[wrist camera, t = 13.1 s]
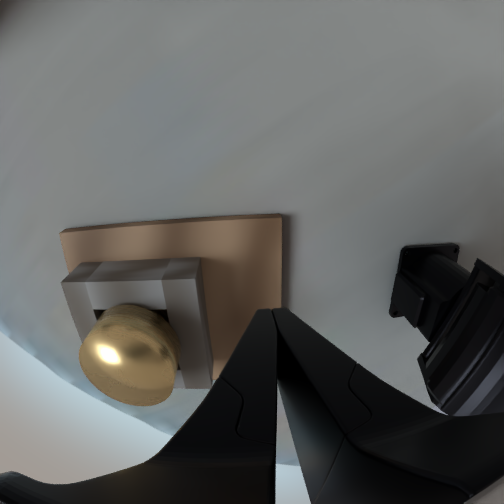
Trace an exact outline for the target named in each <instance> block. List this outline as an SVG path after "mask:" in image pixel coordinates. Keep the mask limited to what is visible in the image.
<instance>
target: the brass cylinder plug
mask: <svg viewBox="0 0 504 504" xmlns="http://www.w3.org/2000/svg"><path fill="white" fill-rule="evenodd" d="M180 354H181V346H180V341H179V339H178V336H177V334H176V333H175V331H174V330H173V328H172V327H171V326H170V323H169V318H168V313H167V309H154V310H148V309H146V308H143V307H140V306H135V305H117V306H113V307H111V308H109V309H107V310H106V311H104V312H103V313H102V314H101V316H100V317H99V319H98V320H97V322H96V323H95V325H94V326H93V328H92V329H91V331H90V332H89V334H88V335H87V337H86V339H85V340H84V342H83V343H82V345H81V347H80V350H79V361H80V365H81V368H82V370H83V372H84V374H85V375H86V377H87V378H88V379H89V381H90V382H91V383H92V384H93V385H94V386H95V387H96V388H97V389H99V390H100V391H101V392H103V393H104V394H106V395H107V396H109V397H111V398H113V399H115V400H117V401H120V402H122V403H126V404H129V405H135V406H151V405H156V404H159V403H161V402H163V401H165V400H166V399H167V398H168V397H169V396H170V394H171V393H172V390H173V386H174V382H175V377H176V372H177V368H178V363H179V359H180Z"/></svg>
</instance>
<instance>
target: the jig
mask: <svg viewBox="0 0 504 504" xmlns="http://www.w3.org/2000/svg"><path fill="white" fill-rule="evenodd" d="M59 234H60V239H61V243H62V248H63V252H64V256H65V260H66V264H67V268H68V271H69V275H68V276H67V277H66V278H65V279H64V280H63V281H62V282H61V285H62V288H63V291H64V294H65V297H66V300H67V303H68V306H69V309H70V312H71V315H72V317H73V320H74V323H75V326H76V328H77V331H78V333H79V336H80V338H81V341H82V343H83V342H84V340H85V339H86V337H87V335H88V334H89V332H90V331H91V329H92V328H93V326H94V325H95V323H96V322H97V320H98V319H99V317H100V316H101V314H102V313H103V312H104V311H106V310H107V309H109V308H111V307H113V306H117V305H135V306H140V307H143V308H146V309H148V310H154V309H167V313H168V318H169V323H170V326H171V327H172V328H173V330H174V331H175V333H176V334H177V336H178V339H179V341H180V346H181V354H180V359H179V363H178V368H177V372H176V377H175V382H174V386H173V388H181V389H211V388H212V381H213V380H217V378H218V377H219V375H220V373H221V371H222V370H223V368H224V366H225V364H226V363H227V361H228V359H229V358H230V356H231V354H232V352H233V351H234V349H235V347H236V345H237V344H238V342H239V340H240V338H241V337H242V335H243V333H244V331H245V330H246V328H247V326H248V324H249V323H250V321H251V319H252V317H253V315H254V314H255V312H256V310H257V309H267V308H269V309H271V310H272V309H273V308H281V280H282V217H281V215H280V214H261V215H239V216H220V217H202V218H186V219H172V220H158V221H145V222H133V223H121V224H110V225H99V226H89V227H79V228H70V229H65V230H63V231H62V232H60V233H59Z"/></svg>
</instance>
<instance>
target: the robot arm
mask: <svg viewBox="0 0 504 504" xmlns="http://www.w3.org/2000/svg"><path fill="white" fill-rule="evenodd" d="M454 249H455V250H454ZM407 251H408V253H407V254H406V252H407ZM405 254H406V255H405ZM458 254H459V246H458V245H456V244H437V245H419V246H405V247H403V248H402V250H401V252H400V258H399V264H398V270H397V274H396V277H395V282H394V287H393V292H392V297H391V305H390V309H389V314H390V316H391V317H393V318H396V317H402V316H405V318H406V319H407V320H408V321H409V322H410V324H411V325H412V326H413V327H414V328H416V327H417V328H418V329H419V330H420V332H421V333H422V334H423V335H424V337H425V338H426V339H427V340H428V342H430V343H429V345H428V346H427V347H426V349H425V350H424V352H423V353H421V354H420V355H419V357H418V358H417V360H418V363H419V366H420V369H421V372H422V375H423V378H424V382H425V385H426V388H427V391H428V394H429V396H430V399H431V401H432V403H434V404H435V405H436V406H437V407H438V408H439V409H440V410H441V411H443V412H445V413H446V414H448V415H445V414H442V413H439V412H437V411H435V410H433V409H431V408H429V407H427V406H426V405H424V404H422V403H420V402H418V401H417V400H415V399H413V398H411V397H409V396H408V395H406V394H404V393H402V392H401V391H399V390H397V389H395V388H394V387H392V386H391V385H389V384H387V383H386V382H384V381H382V380H381V379H379V378H378V377H377V376H375V375H374V374H372V373H371V372H369V371H368V370H367V369H365V368H364V367H363V366H361V365H360V364H358V363H357V362H356V361H354V360H353V359H352V358H351V357H349V356H348V355H347V354H345V353H344V352H343V351H341V350H340V349H339V348H337V347H336V346H335V345H333V344H332V343H331V342H330V341H328V340H327V339H326V338H324V337H323V336H322V335H320V334H319V333H318V332H317V331H315V330H314V329H313V328H311V327H310V326H309V325H308V324H306V323H305V322H304V321H302V320H301V319H300V318H299V317H297V316H296V315H295V314H293V313H292V312H291V311H290V310H288V309H287V308H285V307H281V308H273V309H272V310H271V309H269V308H267V309H257V310H256V312H255V314H254V315H253V317H252V319H251V321H250V323H249V324H248V326H247V328H246V330H245V331H244V333H243V335H242V337H241V338H240V340H239V342H238V344H237V345H236V347H235V349H234V351H233V352H232V354H231V356H230V358H229V359H228V361H227V363H226V364H225V366H224V368H223V370H222V371H221V373H220V375H219V377H218V378H217V380H216V381H215V383H214V385H213V386H212V388H211V389H210V391H209V392H208V394H207V396H206V397H205V399H204V400H203V401H202V403H201V404H200V405H199V406H198V408H197V409H196V410H195V411H194V413H193V414H192V415H191V416H190V418H189V419H188V420H187V421H186V422H185V423H184V424H183V426H182V427H181V428H180V429H179V430H178V431H177V432H176V434H175V435H174V436H173V437H172V438H171V439H170V441H169V442H168V443H167V444H166V445H165V446H164V447H163V448H162V449H161V450H160V451H159V452H158V453H157V454H156V455H155V456H153V457H152V458H150V459H149V460H147V461H145V462H144V463H141V464H139V465H136V466H133V467H130V468H127V469H124V470H120V471H117V472H114V473H111V474H107V475H104V476H100V477H96V478H93V479H89V480H86V481H81V482H77V483H71V484H48V483H43V482H40V481H37V480H34V479H32V478H30V477H27V476H25V475H23V474H20V473H18V472H13V471H9V472H5V473H1V474H0V504H275V477H276V470H275V469H276V433H277V382H278V387H279V390H280V394H281V398H282V401H283V405H284V409H285V412H286V416H287V420H288V423H289V427H290V430H291V434H292V438H293V441H294V445H295V448H296V452H297V456H298V459H299V463H300V466H301V470H302V473H303V477H304V480H305V484H306V487H307V491H308V494H309V498H310V501H311V504H504V275H503V274H502V273H500V272H499V271H497V270H496V269H494V268H493V267H491V266H490V265H488V264H486V263H485V262H483V261H482V260H480V259H478V258H477V260H476V262H475V264H474V265H475V266H474V268H473V270H472V272H471V273H470V272H469V271H467V270H466V269H465V268H463V267H462V266H461V265H459V264H458V263H457V259H458ZM394 311H396V312H394Z"/></svg>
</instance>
